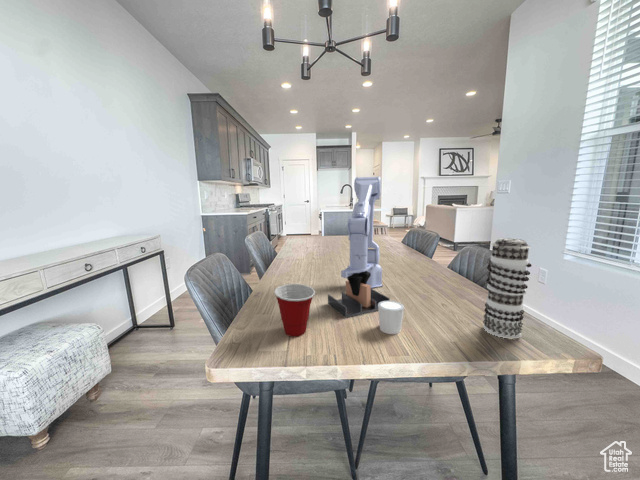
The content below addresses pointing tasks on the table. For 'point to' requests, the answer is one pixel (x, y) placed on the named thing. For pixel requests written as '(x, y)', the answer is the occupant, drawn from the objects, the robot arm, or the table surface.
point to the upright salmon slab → (360, 294)
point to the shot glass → (390, 316)
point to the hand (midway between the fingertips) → (358, 294)
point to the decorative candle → (506, 287)
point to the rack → (355, 304)
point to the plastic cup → (294, 307)
